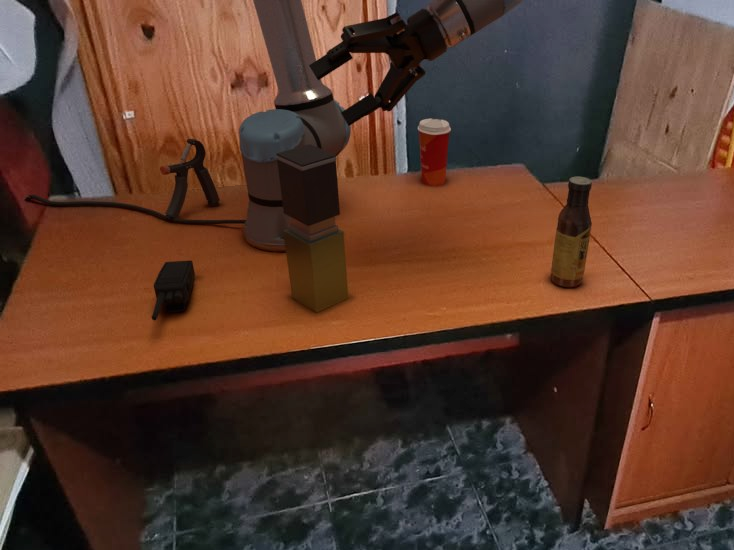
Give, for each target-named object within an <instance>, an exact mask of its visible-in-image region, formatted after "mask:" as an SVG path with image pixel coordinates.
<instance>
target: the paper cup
mask: <svg viewBox="0 0 734 550" xmlns="http://www.w3.org/2000/svg"><path fill="white" fill-rule="evenodd" d="M451 130H452V128H451V126H450V123H449V122H448V121H447V120H446V119H439V118H425V119H422V120H420V121H419V124H418V125H417V131H418V137H419V153H420V170H421V182H422V183H423V184H424V185H427V186H432V187H433V186H434V187H437V186H441V185H444V184H445V182H446V176H447V166H448V155H449V153H448V152H449V143H450V142H449V141H450V133H451Z"/></svg>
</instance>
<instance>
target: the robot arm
mask: <svg viewBox="0 0 734 550" xmlns="http://www.w3.org/2000/svg"><path fill="white" fill-rule="evenodd" d="M252 1H253V5H254V9H255V13H256V16H257V19H258V22H259V27H260V30H261V33H262V37H263V40H264V45H265V48H266V51H267V55H268V58H269V62H270V66H271V69H272V72H273V76H274V79H275V83H276V87H277V90H278V93H277V95H276V96H275V98H274V100H273V105H274V107H275V108H274V109H266V111H257V112H255V113H252V114H250V115H249V116H247V117H246V118H245V119H244V120H243V121H242V122H241V124H240V126H239V129H238V135H239V150H240V153H241V154H240V155H241V159H242V166H243V171H244V177H245V183H246V190H247V194H248V206H247V212H246V219H186V218H178V217H177V218H172V220H170V219H168V218H166V217H165V216H166V214H163V213H161V212H159V211H156V210H153V209H151V208H146V207H143V206H139V205H134V204H130V203H124V202H123V203H122V202H116V201H115V202H113V201H96V200H95V201H93V200H87V201H86V200H83V201H82V200H79V201H76V200H75V201H53V200H49V199H45V198H44V197H41V196H39V195H36V194H28V196H29V197H30V198H29V197H27V196H26V197H25V198H24V202H30V201H31V200H33V199H34V200H36V201H38V202H41V203H43V204H46V205H48V206H56V207H58V206H59V207H61V206H62V207H63V206H65V207H69V206H106V207H107V206H108V207H117V208H118V207H119V208H126V209H130V210H131V209H132V210H136V211H139V212H143V213H146V214H147V213H148V214H150V215H153V216H156V217H158V218H161V219H162V220H166V221H168V222H173V223H178V224H190V225H191V224H193V225H232V224H233V225H236V224H238V225H244V226H243V233H244V238H245V241H246V242H247V244H249V246H252V247H253V248H256V249H258V250H262V251H266V252H276V253H278V252H280V253H281V252H283V253H284V252H286V248H285V240H284V232H283V230H286V229H288V225H289V224H290V217H289V216H288V215H286V214H284V211H283V203H282V195H281V187H280V179H279V171H278V163H277V159H276V153H280V152H283V151H287V150H291V149H294V148H298V147H301V146H305V145H309V144H311V145H313V146H315V147H318V148H320V149H322V150H325V151H327V152H329V153H332V154H334V155H336V157H338V156H339V155H340V154H341V153H342V152H343V151H344V150H345V149H346V147H347V146H348V144H349V141H350V138H351V133H352V131H351V130H352V129H351V128H352V125H353V124H355V123H356V122H358V121H359V120H361V119H363V118H364V117H367V116H369V115H370V114H372V113H374V112H375V111H377V110H378V109H380V108H381V110H382V111H383V112H387V113H388V112H391V111H392V110H393V109H395V107H396V106H397V105H398V103H400V101H401V100H402V99H403V97H404V96H405V95H406V94H407V93H408V92H409V90H411V88H412V87H413V86H414V85H415V83H416V82H418V81H419V80H420V79H421V78H423V77H424V76H425V75H426V74H427V73H426V70H425V69H424V67H423V66H422V65H421V63H422V62H423V61H424V60H427V61H429V62H433V61H434V60H436V59H438V58H439V57H440V56H442V55H443V54H445V53H446V52H447V50H448V47H449V48H451V49H452V48H454V47H456V46H457V45H459V44H460V43H461V42H464V40H466V39H467V38H469V37H471V36H472V35H474V34H477V32H479V31H481V30H482V29H485V27H487V26H489V25H490V24H492V23H494V22H495V21H497V20H499V19H500V18H502V17H504V15H506V14H507V13H509V12H510V11H511V10H513V9H515V7H516V6H518V5H521V3H522V2H523V0H433V1H431V2H429V3H428V4H427V8H421V9H419V10H417V11H416V12H414V13H413V14H412V15H410V16H408V17H407V18H406V22H405V21H404V19H403V18H402V15H400V13H399V12H394V13H391V15H388V16H387V17H383V18H378V19H374V20H369V21H364V22H359V23H354V24H349V25H345V26H343V27H342V29H341V31H342V33H341V35H340V39H341V40H342V41H341V42H340V43H338V44H336V45H335V46H333V47H332V48H330V49H328V50H327V52H326V53H325V55H323V56H321V57H320V58H318V59H317V57H316V55H315V49H314V46H313V42H312V37H311V34H310V30H309V26H308V21H307V18H306V14H305V13H306V12H305V10H304V6H303V2H302V0H252ZM352 54H386V55H387V56H388V59H389V61H390V62H389V69H388V71H387V72H386V74H385V76H384V77H383V79H382V82H381V84H380V85H379V87H378V89H377V90H376V93H375V94H373V93H372V92H371V93H368V94H367V95H365V96H364V97H362V98H361V99H360V100H358V101H356V102H355V103H354V104H352V105H351V106H349V107H347V108H345V107H343V106H341V105H340V102H339V101H337V100H336V99H334V94H333V91H332V89H331V88H329V87H328V86H326V85H325V83H323V82H322V79H323V78H325V77H326V76H328V75H329V74H331V73H333V72H334V71H336V70H338V69H339V68H340V67H342V66H343V65H345V64H347V63H348V62H349V61H351V60H352V59H354V57H353V56H352Z"/></svg>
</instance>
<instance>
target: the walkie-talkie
mask: <svg viewBox="0 0 734 550" xmlns="http://www.w3.org/2000/svg"><path fill="white" fill-rule="evenodd" d="M195 275H196V272H195V268H194V262H193V260H192V259H191V260H176V261H165V262H164V264H163V265H162V267H161V269H160V270H159V272H158V274H157V276H156V279H155V281H154V283H153V288H154V289H153V290H154V294H155V297H156V301H155V305H154V309H153V312H152V315H151V319H152V321H157V319H158V316H159V314H160V313H161V309H162V308H163V305H165V308H164V313H181V312H184V311H185V309H186V306H187V302H188V301H189V299H190V296H191V291H192V289H193V285H194V281H195Z"/></svg>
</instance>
